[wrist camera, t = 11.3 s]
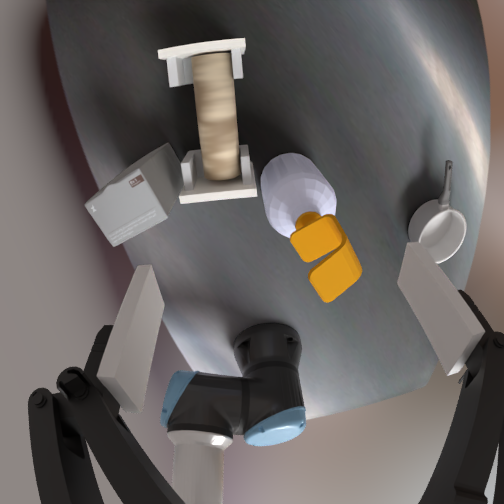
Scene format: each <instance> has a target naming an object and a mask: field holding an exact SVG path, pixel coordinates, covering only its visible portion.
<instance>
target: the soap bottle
mask: <svg viewBox="0 0 504 504" xmlns="http://www.w3.org/2000/svg"><path fill="white" fill-rule="evenodd" d="M261 191H262V196H263V201H264V206H265V211H266V215H267V218H268V220H269V222H270V224H271V225H272V226H273V227H274V228H275V229H276V230H277V231H278V232H279V233H280V234H282V235H284V236H286V237H289V238H290V241H291V243H292V244H293V246H294V247H295V249H296V250H297V252H298V253H299V255H300V256H301V258H302V260H303V261H305V262H311V261H313V260H315V259H317V258H319V257H321V256H323V255H324V254H326V253H328V252H330V251H332V250H334V249H335V250H334V251H333V252H332V253H331V254H329V255H328V256H327V257H326V258H325V259H323V260H322V261H321V262H320V263H318V264H317V265H316V266H315V267H313V268H312V269H311V270H310V271H309V273H308V279H309V281H310V282H311V284H312V285H313V287H314V288H315V290H316V291H317V293H318V294H319V296H320V297H321V299H322V300H323V301H324V302H327V303H328V302H331V301H333V300H334V299H335V298H336V297H338V296H339V295H340V294H341V293H342V292H344V291H345V290H346V289H347V288H348V287H350V286H351V285H352V284H353V283H354V282H356V281H357V280H358V278H359V277H360V276H361V273H362V267H361V265H360V263H359V260H358V258H357V256H356V254H355V252H354V250H353V248H352V246H351V244H350V242H349V240H348V238H347V236H346V234H345V232H344V231H343V229H342V227H341V226H340V224H339V222H338V221H337V219H336V217H335V216H334V215H335V211H336V197H335V193H334V190H333V188H332V187H331V185H330V184H329V183H328V181H327V180H326V179H325V178H324V176H323V175H322V174H321V172H320V171H319V170H318V168H317V167H316V166H315V165H314V164H313V162H312V161H311V160H310V159H309V158H307V157H305V156H303V155H301V154H296V153H286V154H281V155H279V156H277V157H275V158H273V159H272V160H270V162H269V163H268V164H267V165H266V166H265V167H264V169H263V172H262V175H261ZM336 248H337V249H336Z"/></svg>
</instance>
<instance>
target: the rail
mask: <svg viewBox="0 0 504 504" xmlns="http://www.w3.org/2000/svg"><path fill="white" fill-rule="evenodd" d="M191 62H192V73H193V83H194V93H195V102H196V111H197V120H198V129H199V138H200V146H201V154H202V162H203V170H204V177H205V178H206V179H208V180H227V179H232V178H235V177H237V176H239V175H240V174H241V165H240V152H239V140H238V127H237V115H236V102H235V90H234V77H233V65H232V53H215V54H206V55H200V56H195V57H192V58H191Z"/></svg>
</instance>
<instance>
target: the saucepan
mask: <svg viewBox="0 0 504 504" xmlns="http://www.w3.org/2000/svg"><path fill="white" fill-rule="evenodd" d="M451 177H452V161H450V160H447V161H446V166H445V179H444V189H443V191H442V194H441V195H440V196H439V198H438V199H436V200H431V201H428V202H426V203H424V204H423V205H422V206H420V207H419V208H418V209H417V210H416V212H415V213H414V215H413V216H412V218H411V220H410V223H409V228H408V236H409V239H410V241H411V242H419V243H420V244H421V245H422V246H423V247H424V249H425V250H426V251H427V252H428V254H429V255H430V256H431V257H432V258H433V260H434V261H435V262H436V263H441V262H443V261H445V260H447V259H449V258H450V257H451V256H452V255H453V254H454V253H455V252H456V251H457V250H458V249H459V247H460V246H461V244H462V242H463V240H464V238H465V234H466V220H465V217H464V216H463V214H462V213H461V212H460V211H458V210H456V209H453V208H452V207H451V206H449V196H450V189H451Z"/></svg>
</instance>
